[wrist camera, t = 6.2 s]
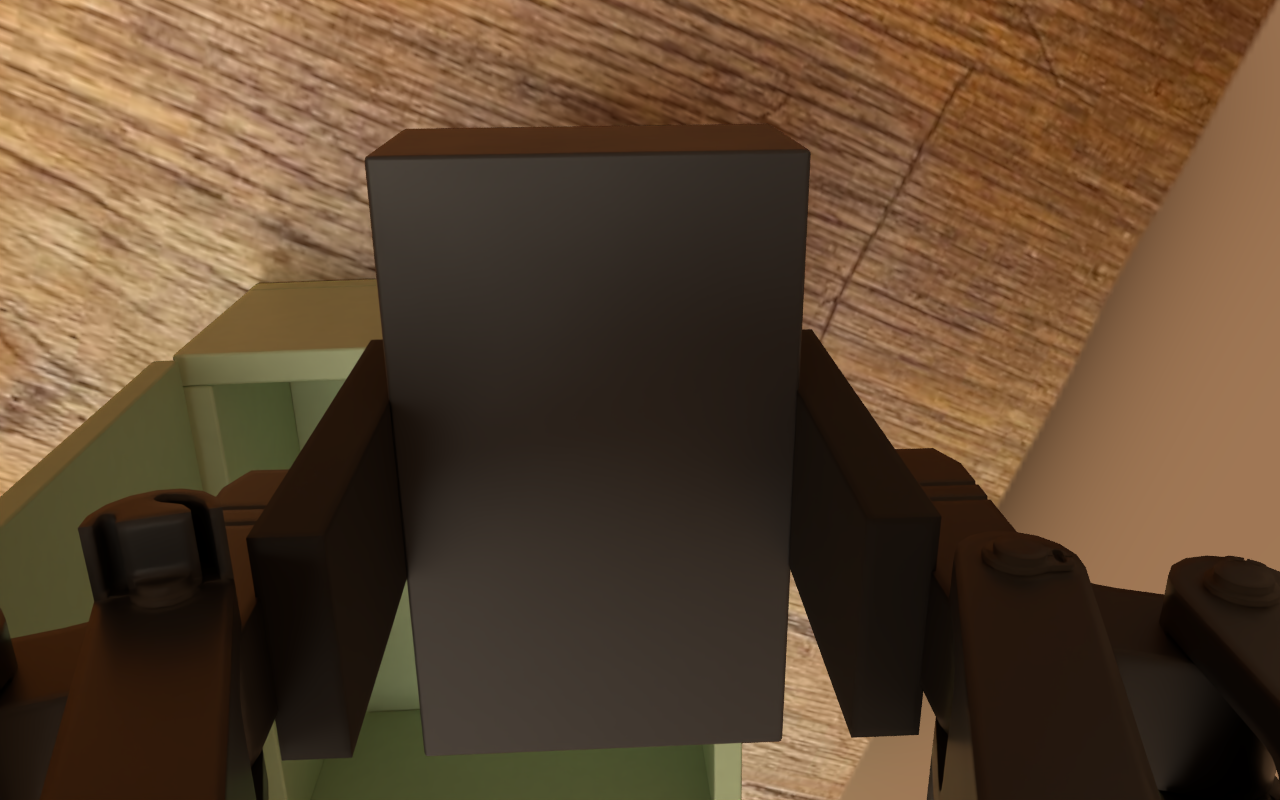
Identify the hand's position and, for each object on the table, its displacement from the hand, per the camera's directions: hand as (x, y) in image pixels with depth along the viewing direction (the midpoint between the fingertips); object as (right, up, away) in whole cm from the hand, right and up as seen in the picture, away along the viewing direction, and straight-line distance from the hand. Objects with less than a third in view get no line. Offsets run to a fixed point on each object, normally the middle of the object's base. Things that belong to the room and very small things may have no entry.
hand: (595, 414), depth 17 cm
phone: (0, 0, 0) cm, 0 cm away
